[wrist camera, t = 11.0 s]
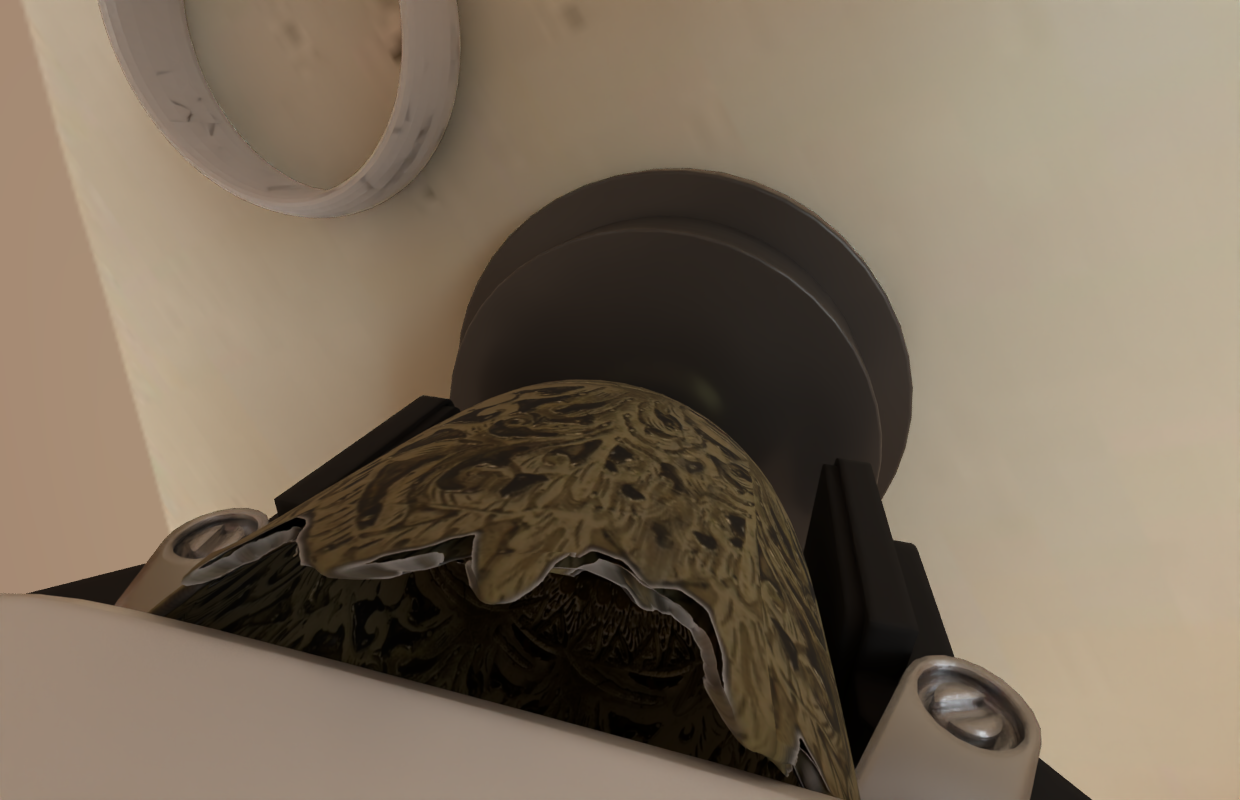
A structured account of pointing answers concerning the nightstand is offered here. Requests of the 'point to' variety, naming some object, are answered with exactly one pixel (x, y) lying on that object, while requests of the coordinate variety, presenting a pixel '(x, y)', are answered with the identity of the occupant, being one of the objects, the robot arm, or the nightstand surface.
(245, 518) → the robot arm
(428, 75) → the ring
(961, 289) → the nightstand surface
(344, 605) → the cup
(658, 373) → the stand
